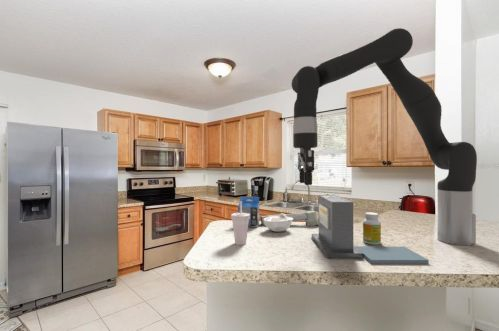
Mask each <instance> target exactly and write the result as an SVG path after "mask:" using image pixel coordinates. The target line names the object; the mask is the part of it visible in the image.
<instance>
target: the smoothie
mask: <svg viewBox="0 0 499 331" xmlns="http://www.w3.org/2000/svg"><path fill="white" fill-rule="evenodd" d="M239 203H240V213H238V212H234V213H232V214H231V215H230V219H231V222H232V229H233V237H234V244H235V245H236V246H237V245H238V246H243V245H246V244H247V239H248V230H249V227H248V223H249V218H250V214H248V213H242V201H240V200H239Z"/></svg>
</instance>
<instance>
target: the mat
mask: <svg viewBox="0 0 499 331" xmlns="http://www.w3.org/2000/svg"><path fill="white" fill-rule="evenodd" d="M354 246H355V247H356V248H358V249H359V250H360V251H361V252H362V253H363V259H365V260H366V262H368V263H369V264H371V265H374V264H375V265H377V264H381V265H383V264H384V265H385V264H387V265H390V264H391V265H394V264H396V265H400V264H401V265H402V264H403V265H404V264H405V265H412V264H413V265H418V264H419V265H420V264H421V265H422V264H423V265H428V264H429V262H430V261H429V259H428V258H427V257H424V256H422V255H420V254H419V253H417V252H416V251H415V252H414V251H413V250H412V249H410V248H408V247H406V246H374V245H372V246H371V245H370V246H356V245H354Z"/></svg>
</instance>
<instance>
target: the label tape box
mask: <svg viewBox="0 0 499 331" xmlns="http://www.w3.org/2000/svg"><path fill="white" fill-rule="evenodd" d="M240 201H242V213H248V214H250V218H249V223H248V228H249V227H252V228H259V226H260V197H259V196H239V203H238V206H237V213H240Z"/></svg>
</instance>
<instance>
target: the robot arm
mask: <svg viewBox="0 0 499 331" xmlns="http://www.w3.org/2000/svg"><path fill="white" fill-rule="evenodd" d="M413 40H414V39H413V36H412V34H411V33H410V31H409V30H408V29H404V28H401V27H400V28H399V27H398V28H394V29H391V30H389V31H388V32H386V33H384V35H381V36H380V37H379V38H377V39H375V40H372V41H371V42H369V43H366V44H365V45H362V46H361V47H358V48H355V49H353V50H351V51H347V52H345V53H342V54H340V55H337V56H335V57H332V58H329V59H327V60H324V61H323V62H320V63H319V65H317V66H315V67H313V66H312V65H305V66H303V67H300V69H299V70H298V71H297V72H296V74H295V75H294V76H293V78H292V79H291V89H292V90H293V92H294V93H296V99H295V101H294V105H293V125H292V133H293V134H292V137H293V138H292V141H293V142H292V144H293V145H292V146H293V148H295V149H299V150H300V151H298V152H297V170H298V174H299V184H304V185H306V186H312V184H313V172H314V170H315V168H316V167H315V150H314V149H316V148H317V147H318V121H317V101H318V95H319V90H320V88H321V87H323V86H326V85H328V84H330V83H333V82H337V81H339V80H343V79H344V78H347V77H348V76H350V75H352V74H355V73H357V72H358V71H361V70H362V69H364V68H367V67H368V66H371V65H372V64H373V65H374V63H375V64H376V67H378V69H379V70H380V71H381V73H382V74H383V75H384V77H385V78H386V79H387V80H388V82H389V84H390V86H391V87H392V89H393V90H394V92H395V94H396V95H397V97H398V98H399V100H400V102H401V103H402V105H403V107H404V109H405V110H406V113H407V114H408V116H409V117H410V118H409V119H411V121H412V122H413V124H414V126H415V127H416V129H417V131H418V133H419V135H420V137H421V139H422V141H423V143H424V145H425V148H426V150H427V152H428V155H429V157H430V160H431V161H432V163H433V164H434V165H435V166H436V167H437V168H438V169H441V170H444V171H445V170H446V171H448V173H447V176H446V177H445V178H443V179H441V180H439V181H438V182H437V186H436V187H437V189H436V190H437V240H439V241H440V242H443V243H446V244H451V245H458V246H459V245H460V246H471V245H475V244H476V243H477V241H476V240H477V215H476V214H475V213H473V209H474V208H473V203H474V202H473V199H474V198H473V197H474V196H473V192H474V191H473V189H474V188H473V187H474V185H475V182H476V179H477V178H476V176H477V162H478V160H477V159H478V158H477V157H478V156H477V155H478V154H477V151H476V148H475V147H474V145H473V144H471V143H470V142H468V141H455V142H449V140H448V139H447V138H446V136H445V134H444V132H443V130H442V126H441V124H442V123H441V122H442V121H441V120H442V111H443V110H442V105H441V102H440V100H439V98H438V96H437V95H436V93H435V91H434V89H433V88H432V87H431V86H430V84H428V83H427V82H425V81H424V80H422V79H421V78H419V77H417V76H415V75H414V74H413V73H412V72H410V71H409V70H408V69H407V67H406V66H405V64H404V62H403V61H402V58H403V57H405V56H406V55H407V54H408V53H409V52H410V51H411V49H412V47H413V45H414V44H413V42H414V41H413Z"/></svg>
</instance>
